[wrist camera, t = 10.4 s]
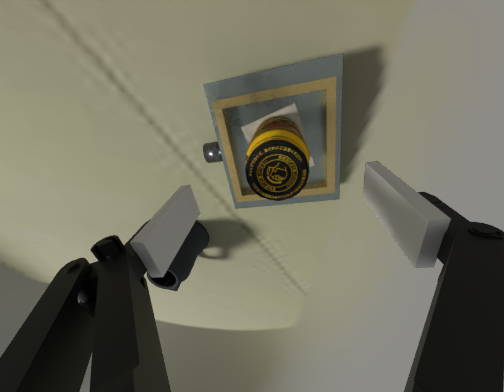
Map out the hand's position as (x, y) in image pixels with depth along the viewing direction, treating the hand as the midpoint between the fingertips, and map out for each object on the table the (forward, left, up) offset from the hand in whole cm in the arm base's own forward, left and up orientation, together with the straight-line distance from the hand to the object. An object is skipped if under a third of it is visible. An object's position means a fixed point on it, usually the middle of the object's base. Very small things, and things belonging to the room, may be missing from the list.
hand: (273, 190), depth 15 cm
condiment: (0, 0, -14) cm, 14 cm away
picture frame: (0, -1, -18) cm, 18 cm away
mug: (+19, -22, -19) cm, 34 cm away
